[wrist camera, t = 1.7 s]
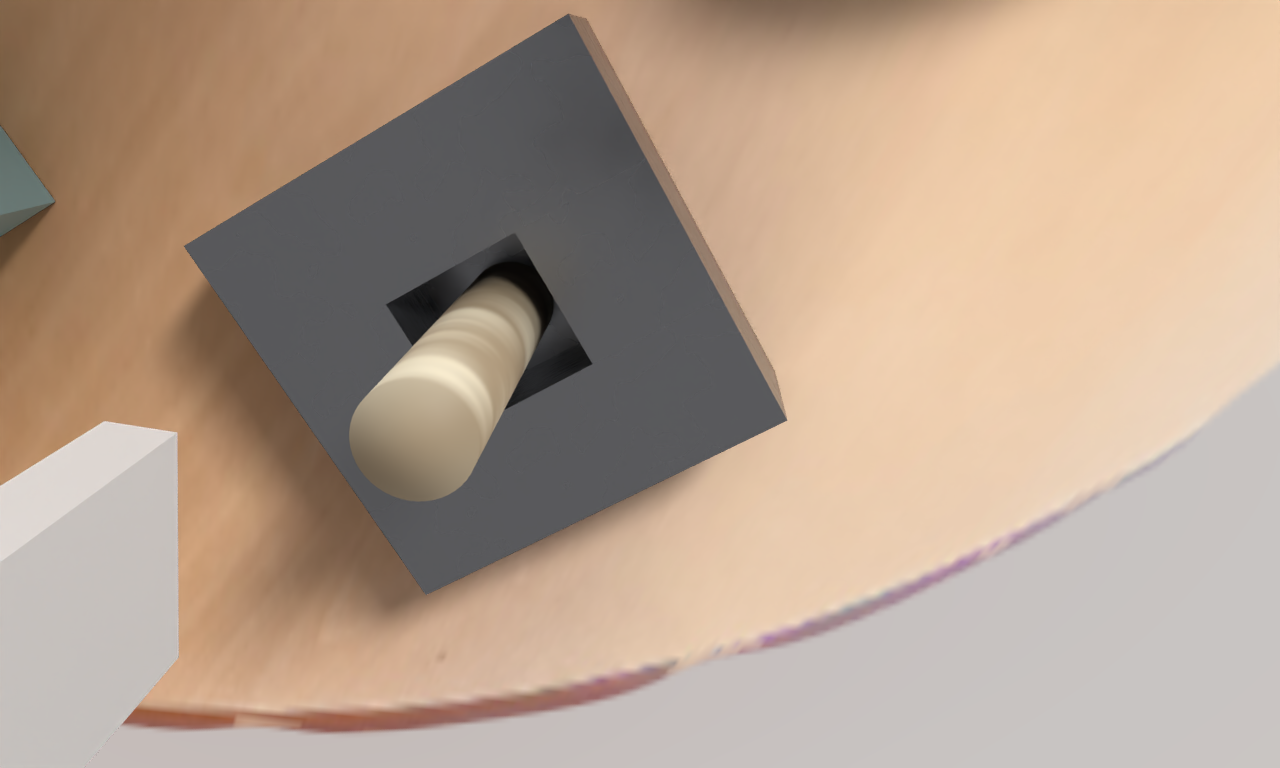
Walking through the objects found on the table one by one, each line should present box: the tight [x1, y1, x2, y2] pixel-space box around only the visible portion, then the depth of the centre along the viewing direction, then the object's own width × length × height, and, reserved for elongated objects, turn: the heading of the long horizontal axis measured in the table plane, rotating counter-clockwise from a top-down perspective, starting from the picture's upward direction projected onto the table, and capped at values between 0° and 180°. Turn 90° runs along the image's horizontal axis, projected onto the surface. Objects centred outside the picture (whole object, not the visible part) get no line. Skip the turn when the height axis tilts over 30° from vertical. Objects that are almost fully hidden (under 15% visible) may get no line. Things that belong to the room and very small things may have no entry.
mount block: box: [184, 14, 787, 595], centre depth 33 cm, size 14×14×5 cm
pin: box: [349, 262, 554, 501], centre depth 29 cm, size 3×3×13 cm
